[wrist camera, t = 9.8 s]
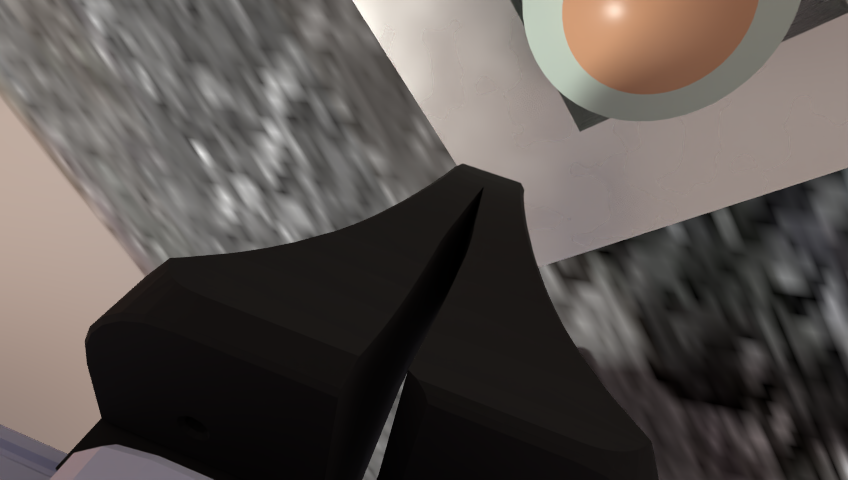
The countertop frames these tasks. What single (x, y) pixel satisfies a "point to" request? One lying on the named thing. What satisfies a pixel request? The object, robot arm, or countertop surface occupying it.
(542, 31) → the cylinder with orange cap
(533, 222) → the beige square slab
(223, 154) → the countertop surface
